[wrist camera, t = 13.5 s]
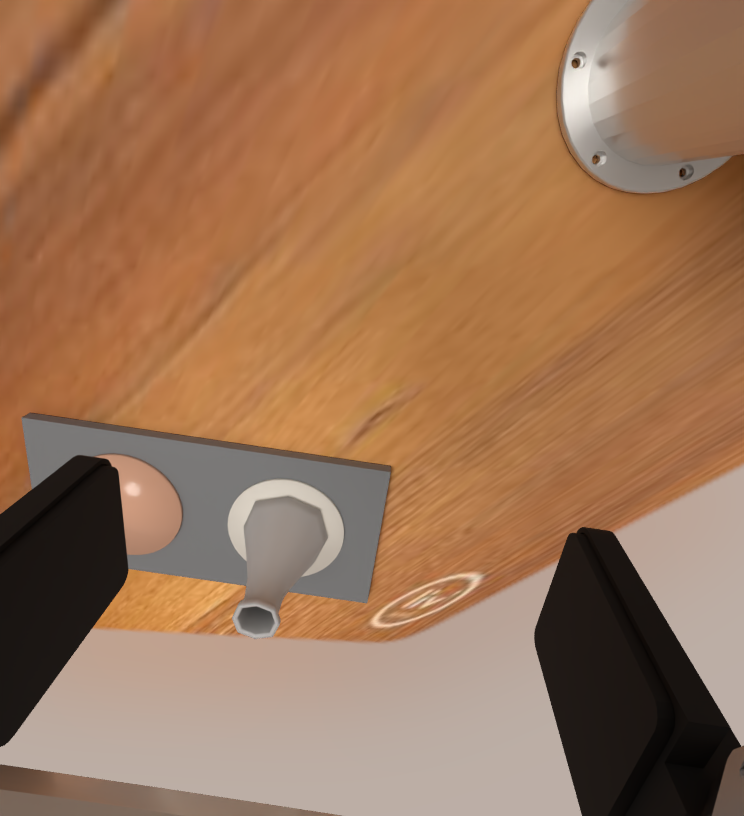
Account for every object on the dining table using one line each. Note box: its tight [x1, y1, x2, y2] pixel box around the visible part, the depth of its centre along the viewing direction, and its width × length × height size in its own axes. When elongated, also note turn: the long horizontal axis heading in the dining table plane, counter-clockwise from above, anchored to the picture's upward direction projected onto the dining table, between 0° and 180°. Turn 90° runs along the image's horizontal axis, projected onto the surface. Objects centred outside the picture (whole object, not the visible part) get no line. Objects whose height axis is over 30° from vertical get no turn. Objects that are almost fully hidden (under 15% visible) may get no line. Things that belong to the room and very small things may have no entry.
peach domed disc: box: [93, 453, 183, 555], centre depth 42 cm, size 10×10×1 cm
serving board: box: [22, 413, 391, 603], centre depth 43 cm, size 30×14×1 cm, turn 82°
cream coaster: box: [228, 478, 344, 577], centre depth 42 cm, size 10×10×1 cm
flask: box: [232, 496, 328, 639], centre depth 37 cm, size 7×7×10 cm
